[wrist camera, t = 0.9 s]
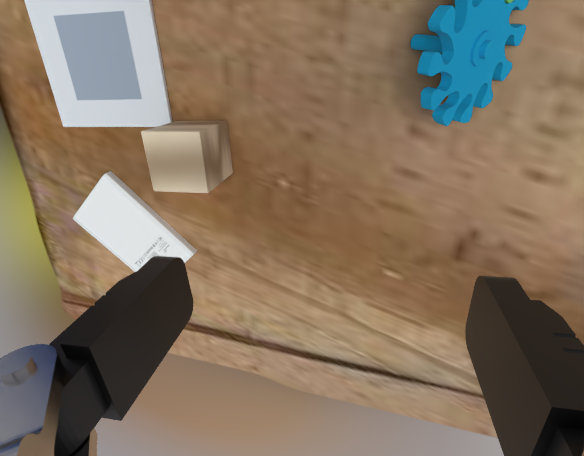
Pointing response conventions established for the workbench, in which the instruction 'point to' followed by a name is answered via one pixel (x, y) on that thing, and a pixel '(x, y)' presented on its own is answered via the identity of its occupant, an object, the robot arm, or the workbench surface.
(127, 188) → the external hard drive
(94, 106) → the white square plate
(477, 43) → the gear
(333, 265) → the workbench surface
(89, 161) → the workbench surface
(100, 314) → the robot arm
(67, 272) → the workbench surface
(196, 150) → the maple block
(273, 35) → the workbench surface
